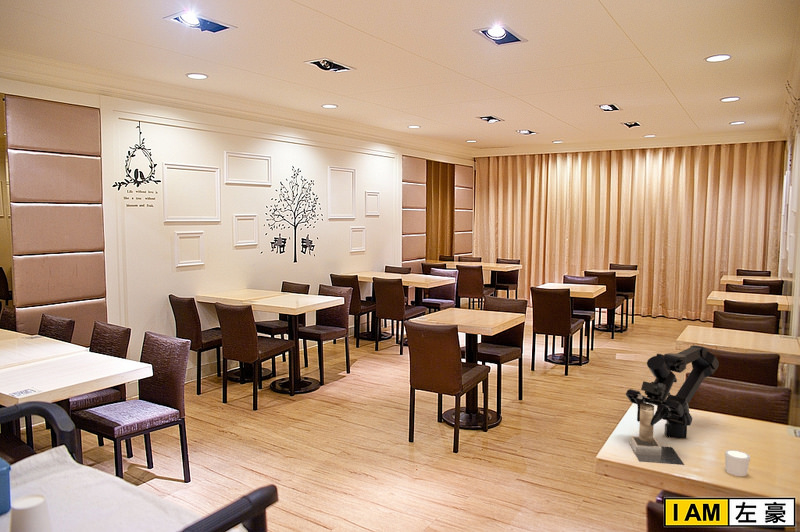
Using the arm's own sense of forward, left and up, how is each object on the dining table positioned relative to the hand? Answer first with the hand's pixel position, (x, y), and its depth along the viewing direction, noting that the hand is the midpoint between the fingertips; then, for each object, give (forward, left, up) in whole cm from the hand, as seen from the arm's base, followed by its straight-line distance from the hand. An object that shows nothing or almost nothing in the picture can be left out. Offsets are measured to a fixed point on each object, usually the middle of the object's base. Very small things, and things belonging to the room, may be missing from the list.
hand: (644, 423), depth 192 cm
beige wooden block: (-1, -1, -6) cm, 6 cm away
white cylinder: (-25, +11, -11) cm, 30 cm away
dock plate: (-4, +2, -11) cm, 12 cm away
